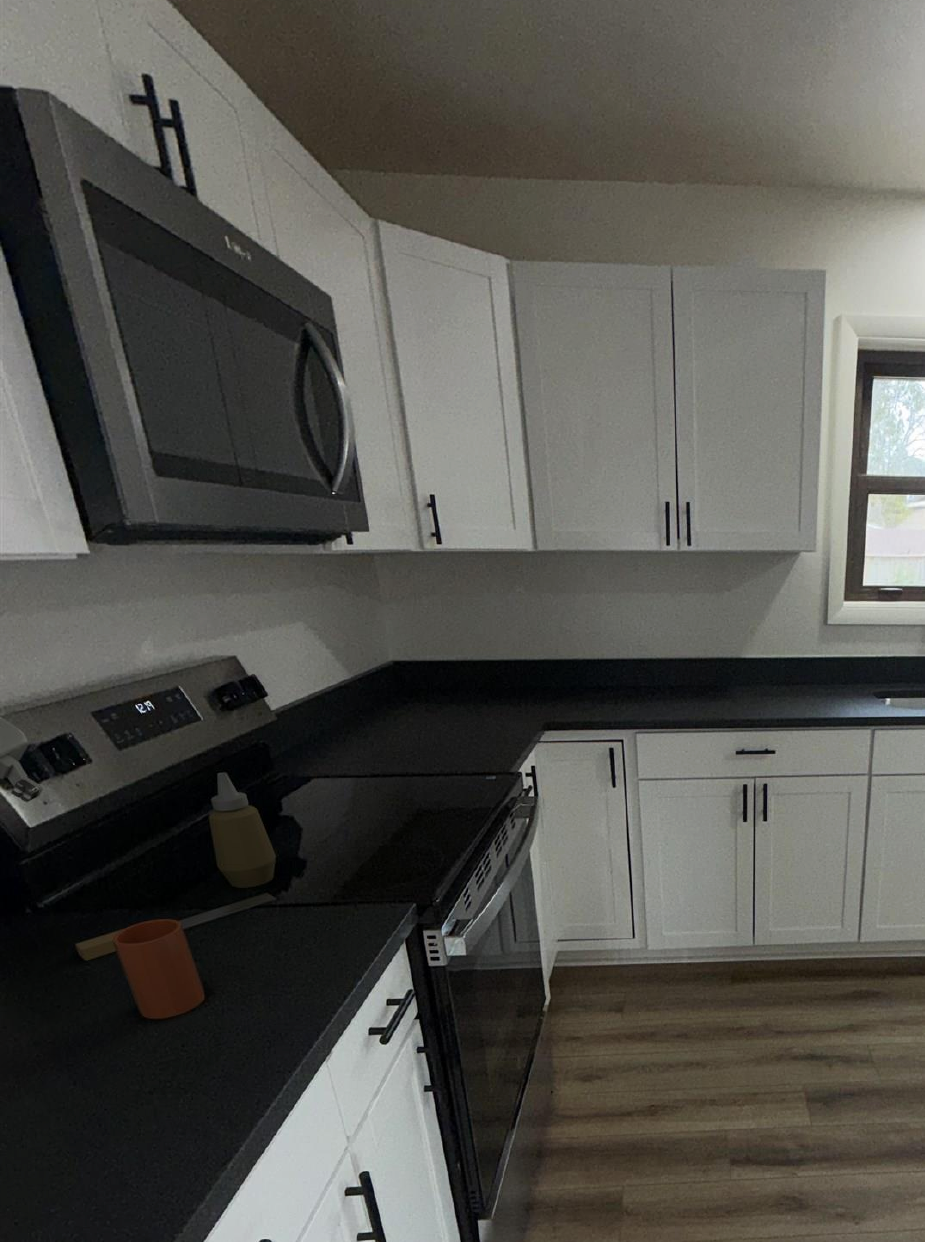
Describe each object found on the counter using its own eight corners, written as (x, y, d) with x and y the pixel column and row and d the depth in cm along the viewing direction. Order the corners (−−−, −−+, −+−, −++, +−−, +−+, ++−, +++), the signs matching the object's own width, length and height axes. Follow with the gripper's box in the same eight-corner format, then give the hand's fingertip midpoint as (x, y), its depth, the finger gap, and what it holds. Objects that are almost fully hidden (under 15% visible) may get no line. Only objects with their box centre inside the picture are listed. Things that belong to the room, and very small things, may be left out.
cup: (153, 1027, 90) (124, 950, 86) (133, 1008, 94) (104, 934, 90) (214, 1003, 95) (189, 929, 91) (193, 986, 98) (168, 914, 94)
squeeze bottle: (284, 884, 126) (254, 775, 119) (225, 897, 122) (191, 784, 115) (278, 868, 132) (249, 763, 125) (222, 879, 128) (189, 771, 121)
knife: (87, 963, 103) (82, 950, 103) (79, 956, 105) (74, 943, 104) (277, 901, 121) (273, 889, 120) (267, 896, 122) (264, 884, 122)
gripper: (-258, 741, 67) (-81, 842, 72) (-50, 672, 85) (82, 757, 90) (-272, 790, 70) (-100, 884, 75) (-67, 713, 87) (62, 794, 92)
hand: (0, 814), depth 82 cm, fingers open, 8 cm apart
